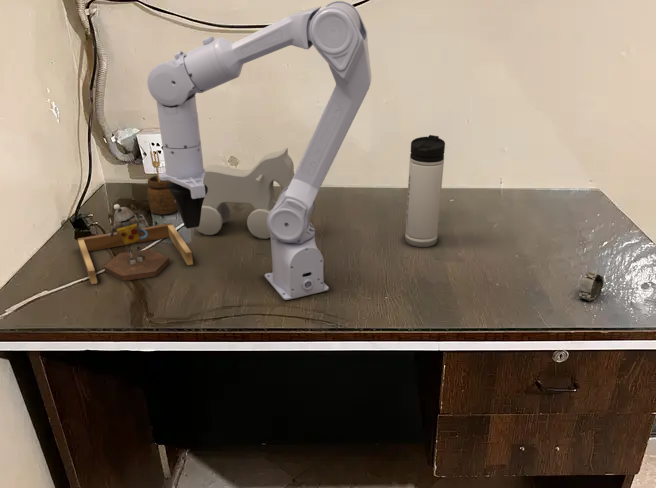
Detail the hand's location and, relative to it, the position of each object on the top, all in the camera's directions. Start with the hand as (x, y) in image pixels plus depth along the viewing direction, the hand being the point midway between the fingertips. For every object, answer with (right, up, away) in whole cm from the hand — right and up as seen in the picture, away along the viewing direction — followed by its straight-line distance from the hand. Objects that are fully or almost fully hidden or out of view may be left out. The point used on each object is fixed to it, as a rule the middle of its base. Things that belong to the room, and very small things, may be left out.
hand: (191, 226), depth 102 cm
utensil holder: (-14, +7, +31) cm, 34 cm away
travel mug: (+39, -1, +20) cm, 44 cm away
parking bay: (-13, -4, +11) cm, 17 cm away
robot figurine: (-11, -6, +8) cm, 15 cm away
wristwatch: (+66, -12, +3) cm, 67 cm away
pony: (+5, +1, +22) cm, 23 cm away
